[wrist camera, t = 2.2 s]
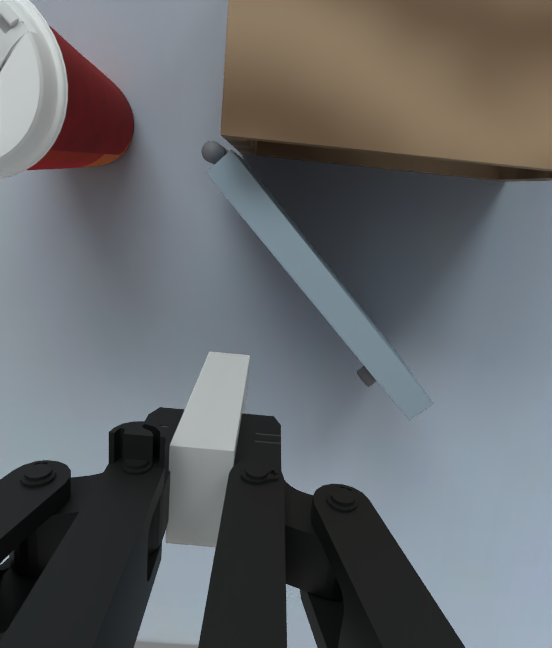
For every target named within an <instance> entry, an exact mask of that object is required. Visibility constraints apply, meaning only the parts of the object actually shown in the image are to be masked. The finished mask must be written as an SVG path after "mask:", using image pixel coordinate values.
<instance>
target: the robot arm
mask: <svg viewBox="0 0 552 648" xmlns="http://www.w3.org/2000/svg"><path fill="white" fill-rule="evenodd" d="M249 361H250V355H242V354H231V353H220V352H210V351H209V353H208V356H207V358H206V360H205V363H204V365H203V368H202V370H201V372H200V375H199V377H198V379H197V382H196V384H195V387H194V389H193V391H192V394H191V396H190V398H189V401H188V403H187V406H186V408H185V410H184V409H173V408H162V407H160V408H158V409H157V410H155V411H153V412H152V413H150V414H149V415H148V417H147V418H146V420H145V421H141V422H129V423H124V424H121V425H119V426H117V427H114V428H113V429H112V430H111V431H110V432H109V464H108V466H107V467H106V469H105V471H104V472H103V473H100V474H96V475H91V476H83V477H73V478H71V470H70V469H69V468H68V466H67V465H65V464H63V463H61V462H58V461H49V460H43V461H35V462H32V463H29V464H25V465H23V466H21V467H19V468H17V469H15V470H13V471H12V472H10V473H9V474H8V475H6V476H5V477H3V478H2V479H0V563H1V562H2V561H3V560H4V559H5V558H6V557H7V556H8V555H9V558H8V559H7V560H6V561H5V562H4V563H3V564H1V565H0V648H134V645H135V641H136V638H137V635H138V632H139V629H140V625H141V622H142V619H143V616H144V613H145V609H146V606H147V603H148V600H149V596H150V593H151V590H152V587H153V584H154V580H155V577H156V574H157V571H158V567H159V564H160V561H161V551H162V539H163V536H164V533H165V530H166V543H173V544H185V545H197V546H209V547H216V550H215V556H214V561H213V567H212V573H211V578H210V584H209V590H208V595H207V601H206V607H205V612H204V618H203V624H202V630H201V635H200V641H199V647H198V648H287V625H286V584H288V585H291V586H293V587H296V588H299V589H300V594H301V600H302V603H303V606H304V609H305V612H306V615H307V618H308V621H309V624H310V627H311V629H312V632H313V635H314V638H315V641H316V644H317V647H318V648H465V646H464V645H463V643H462V642H461V640H460V639H459V637H458V636H457V634H456V633H455V631H454V629H453V628H452V626H451V625H450V623H449V622H448V620H447V619H446V617H445V616H444V614H443V613H442V611H441V609H440V608H439V606H438V605H437V603H436V602H435V600H434V599H433V597H432V596H431V594H430V593H429V591H428V589H427V588H426V586H425V585H424V583H423V582H422V580H421V579H420V577H419V576H418V574H417V573H416V571H415V570H414V568H413V566H412V565H411V563H410V562H409V560H408V559H407V557H406V556H405V554H404V553H403V551H402V550H401V548H400V546H399V545H398V543H397V542H396V540H395V539H394V537H393V536H392V534H391V533H390V531H389V530H388V528H387V527H386V525H385V523H384V522H383V520H382V519H381V517H380V516H379V514H378V513H377V511H376V510H375V508H374V507H373V505H372V503H371V502H370V500H369V499H368V498H367V497H366V496H365V495H364V494H363V493H362V492H360V491H358V490H357V489H355V488H353V487H350V486H346V485H343V484H329V485H324V486H322V487H320V488H318V489H317V490H316V491H315V493H314V495H310V494H306V493H304V492H301V491H298V490H296V489H295V488H293V487H291V486H290V485H289V484H288V483H287V482H286V481H285V480H284V477H283V474H282V472H281V425H280V424H279V422H278V421H277V420H276V419H275V417H274V416H264V415H253V414H245V406H246V395H247V383H248V372H249Z"/></svg>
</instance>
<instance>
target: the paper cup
mask: <svg viewBox="0 0 552 648" xmlns="http://www.w3.org/2000/svg"><path fill="white" fill-rule="evenodd" d="M133 132H134V119H133V113H132V110H131V107H130V105H129V102H128V101H127V99H126V97H125V96H124V94H123V93H122V92H121V90H120V89H119V88H118V87H117V86H116V85H115V84H114V83H113V82H112V81H111V80H110V79H109V78H108V77H106V76H105V75H104V74H103V73H102V72H101V71H100V70H98V69H97V68H96V67H95V66H94V65H93V64H92V63H90V62H89V61H88V60H87V59H86V58H85V57H83V56H82V55H81V54H80V53H79V52H78V51H77V50H75V49H74V48H73V47H72V46H71V45H70V44H69V43H68V42H67V41H66V40H65V39H64V38H62V37H61V36H60V35H59V34H58V33H57V32H56V31H55V30H54V29H53V28H51V27H50V26H49V25H48V23H47V22H46V20H45V19H44V17H43V16H42V15H41V14H40V12H39V11H38V10H37V8H36V7H35V6H34V5H33V4H32V3H31V2H30V1H29V0H0V178H6V177H11V176H13V175H16V174H18V173H21V172H23V171H25V170H41V169H62V168H79V167H93V166H101V165H105V164H108V163H111V162H113V161H115V160H116V159H118V158H119V157H120V156H122V155H123V153H124V152H125V151H126V150H127V148H128V147H129V145H130V143H131V140H132V137H133Z"/></svg>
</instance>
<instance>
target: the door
mask: <svg viewBox="0 0 552 648" xmlns="http://www.w3.org/2000/svg"><path fill="white" fill-rule="evenodd" d="M202 155H203V158H204V159H205V160H206V161H208V162H210V163H213V164H215V165H213V166H212V167H211V168H210V169H209V170H208V171H207V172H206V174H207V175H208V176H209V177H210V179H211V180H212V181H213V182H214V183H215V185H216V186H217V187H218V188H219V189H220V191H221V192H222V193H223V194H224V196H225V197H226V198H227V199H228V200H229V202H230V203H231V204H232V205H233V207H234V208H235V209H236V210H237V211H238V213H239V214H240V215H241V216H242V217H243V219H244V220H245V221H246V222H247V224H248V225H249V226H250V227H251V228H252V230H253V231H254V232H255V233H256V235H257V236H258V237H259V238H260V239H261V241H262V242H263V243H264V244H265V246H266V247H267V248H268V249H269V250H270V252H271V253H272V254H273V255H274V256H275V258H276V259H277V260H278V261H279V263H280V264H281V265H282V266H283V267H284V269H285V270H286V271H287V272H288V274H289V275H290V276H291V277H292V278H293V280H294V281H295V282H296V283H297V284H298V286H299V287H300V288H301V289H302V291H303V292H304V293H305V294H306V295H307V297H308V298H309V299H310V300H311V302H312V303H313V304H314V305H315V306H316V308H317V309H318V310H319V311H320V313H321V314H322V315H323V316H324V317H325V319H326V320H327V321H328V322H329V323H330V325H331V326H332V327H333V328H334V330H335V331H336V332H337V333H338V334H339V336H340V337H341V338H342V339H343V341H344V342H345V343H346V344H347V345H348V347H349V348H350V349H351V350H352V351H353V353H354V354H355V355H356V356H357V358H358V359H359V360H360V361H361V362H362V364H363V365H364V366H363V367H362V368H361V369H359V370H358V371H357V374H358V375H359V377H360V378H361V379H362V381H363V382H364V383H365V384H366V386H368V387H369V386H370V385H372V384H373V383H374V382H376V381H377V382H378V383H379V384H380V386H381V387H382V388H383V389H384V390H385V392H386V393H387V394H388V395H389V397H390V398H391V399H392V400H393V401H394V403H395V404H396V405H397V406H398V408H399V409H400V410H401V411H402V412H403V414H404V415H405V416H406V417H407V418H408V420H411V419H412V418H414V417H415V416H417V415H418V414H419V413H421V412H422V411H424V410H425V409H427V408H428V407H430V406H431V405H432V404H433V402H432V401H431V400H430V398H429V397H428V395H427V394H426V393H425V391H424V390H423V388H422V387H421V386H420V384H419V383H418V381H417V380H416V379H415V377H414V376H413V374H412V373H411V372H410V370H409V369H408V367H407V366H406V365H405V363H404V362H403V361H402V359H401V358H400V356H399V355H398V354H397V352H396V351H395V349H394V348H393V347H392V345H391V344H390V343H389V342H388V340H387V339H386V338H385V337H384V335H383V334H382V333H381V332H380V330H379V329H378V328H377V327H376V325H375V324H374V323H373V322H372V320H371V319H370V318H369V317H368V315H367V314H366V313H365V311H364V310H363V309H362V308H361V306H360V305H359V304H358V303H357V301H356V300H355V299H354V298H353V296H352V295H351V294H350V293H349V291H348V290H347V289H346V288H345V286H344V285H343V284H342V282H341V281H340V280H339V279H338V277H337V276H336V275H335V274H334V272H333V271H332V270H331V269H330V267H329V266H328V265H327V264H326V262H325V261H324V260H323V259H322V257H321V256H320V255H319V253H318V252H317V251H316V250H315V248H314V247H313V246H312V245H311V243H310V242H309V241H308V240H307V238H306V237H305V236H304V235H303V233H302V232H301V231H300V230H299V228H298V227H297V226H296V225H295V223H294V222H293V221H292V219H291V218H290V217H289V216H288V214H287V213H286V212H285V211H284V209H283V208H282V207H281V206H280V204H279V203H278V202H277V201H276V199H275V198H274V197H273V196H272V194H271V193H270V192H269V190H268V189H267V188H266V187H265V185H264V184H263V183H262V182H261V180H260V179H259V178H258V177H257V175H256V174H255V173H254V172H253V170H252V169H251V168H250V167H249V165H248V164H247V163H246V161H245V160H244V159H242V158H241V157H240V156H239V155H237V154H236V153H235V152H233V151H232V150H230V151H228V150H226V149H225V148H224V147H223V146H221V145H220V144H219V143H217V142H215V141H208V142H206V143H205V144H204V145H203V147H202Z"/></svg>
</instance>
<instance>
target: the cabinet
mask: <svg viewBox="0 0 552 648" xmlns="http://www.w3.org/2000/svg"><path fill="white" fill-rule="evenodd" d="M221 136H223V137H224V138H225V139H226V140H227V141H228V142H229V143H230V144H231V145H233V146H234V147H235V148H236V149H237V150H238V151H239V152H240V153H241V154H247V155H257V156H266V157H276V158H286V159H295V160H305V161H314V162H324V163H334V164H343V165H353V166H363V167H372V168H382V169H391V170H401V171H411V172H420V173H430V174H439V175H449V176H459V177H468V178H478V179H487V180H497V181H547V180H552V0H229V4H228V21H227V37H226V54H225V70H224V87H223V103H222V120H221Z"/></svg>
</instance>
